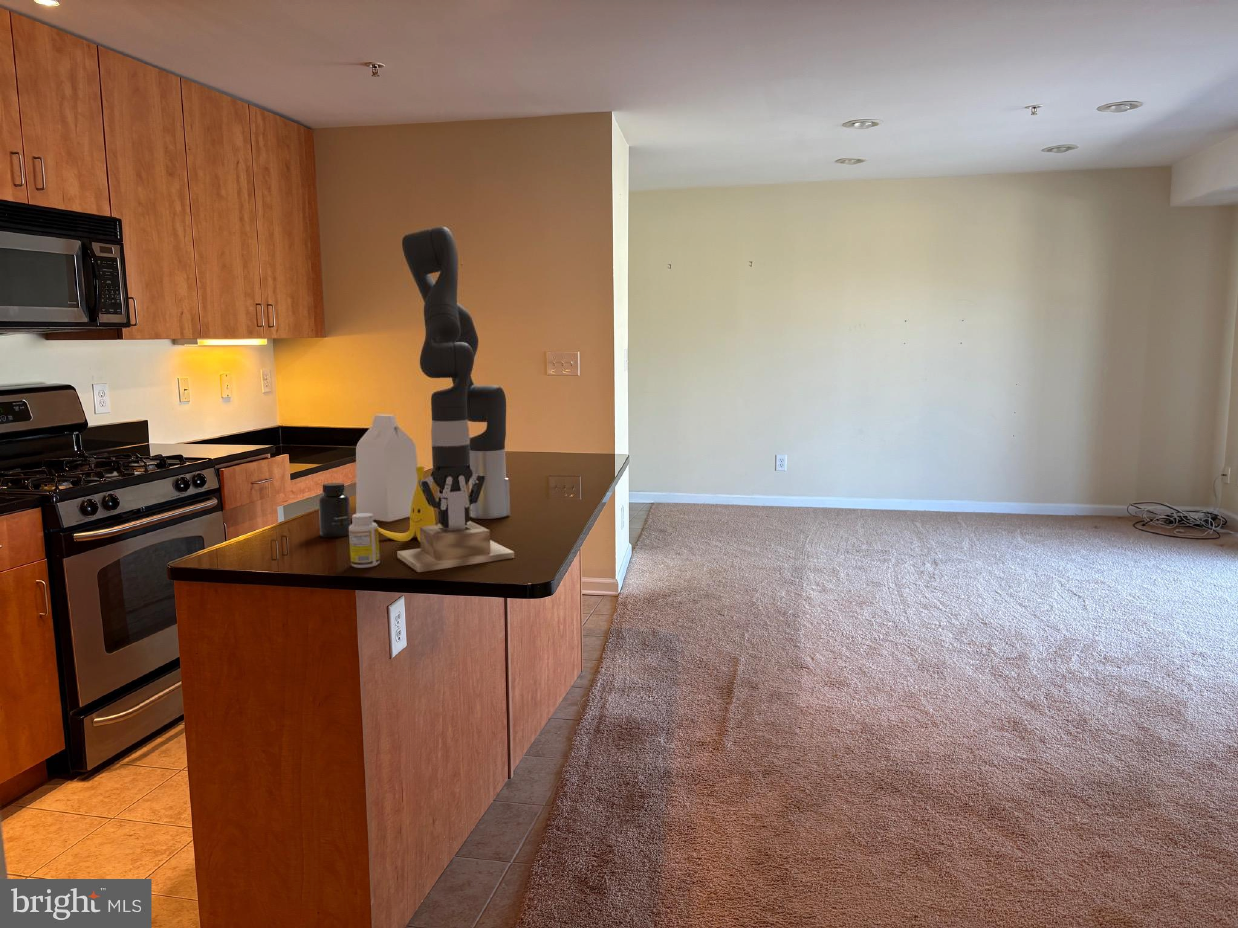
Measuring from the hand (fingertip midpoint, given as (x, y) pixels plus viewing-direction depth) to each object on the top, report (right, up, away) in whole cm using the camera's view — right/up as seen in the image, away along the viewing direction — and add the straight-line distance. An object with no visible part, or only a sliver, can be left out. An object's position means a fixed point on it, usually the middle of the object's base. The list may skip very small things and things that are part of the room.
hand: (454, 525), depth 170 cm
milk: (-26, -1, +46) cm, 52 cm away
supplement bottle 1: (-32, -4, +23) cm, 40 cm away
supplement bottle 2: (-17, -8, -4) cm, 19 cm away
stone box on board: (0, -7, +1) cm, 7 cm away
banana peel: (-10, -4, +21) cm, 24 cm away
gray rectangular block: (0, -3, 0) cm, 3 cm away
